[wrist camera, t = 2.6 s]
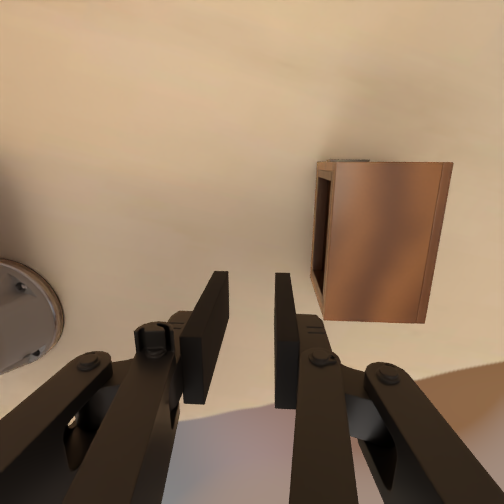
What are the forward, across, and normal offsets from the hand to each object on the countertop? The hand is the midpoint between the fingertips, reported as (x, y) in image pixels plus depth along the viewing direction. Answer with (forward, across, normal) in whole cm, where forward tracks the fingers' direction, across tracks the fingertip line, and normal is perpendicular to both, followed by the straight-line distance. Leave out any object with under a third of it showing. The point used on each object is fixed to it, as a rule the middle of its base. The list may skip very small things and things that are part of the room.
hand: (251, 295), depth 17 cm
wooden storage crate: (+22, +10, 0) cm, 24 cm away
